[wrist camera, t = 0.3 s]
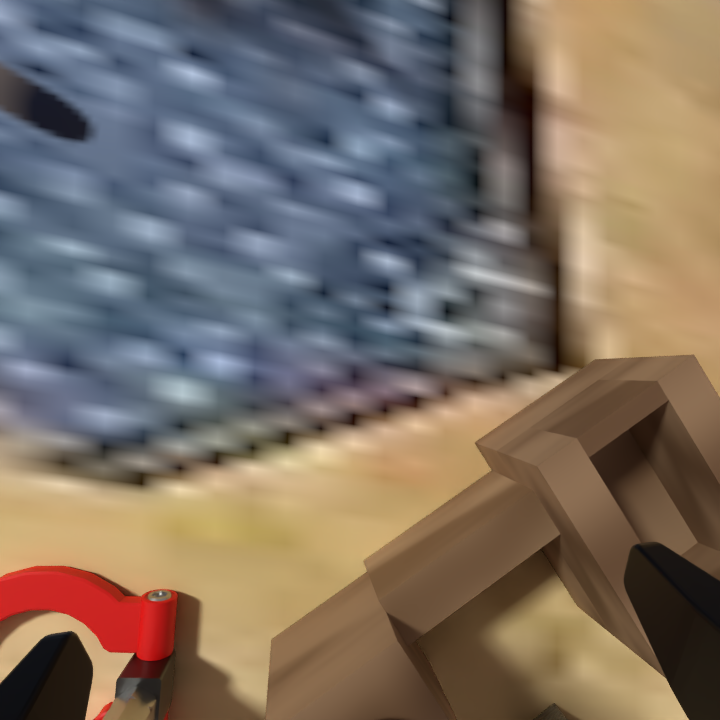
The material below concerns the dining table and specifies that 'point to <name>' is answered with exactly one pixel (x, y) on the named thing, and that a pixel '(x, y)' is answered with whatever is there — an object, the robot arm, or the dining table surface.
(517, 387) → the dining table surface
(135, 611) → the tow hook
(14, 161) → the dining table surface
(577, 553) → the wooden hollow frame
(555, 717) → the tall grey upright block
